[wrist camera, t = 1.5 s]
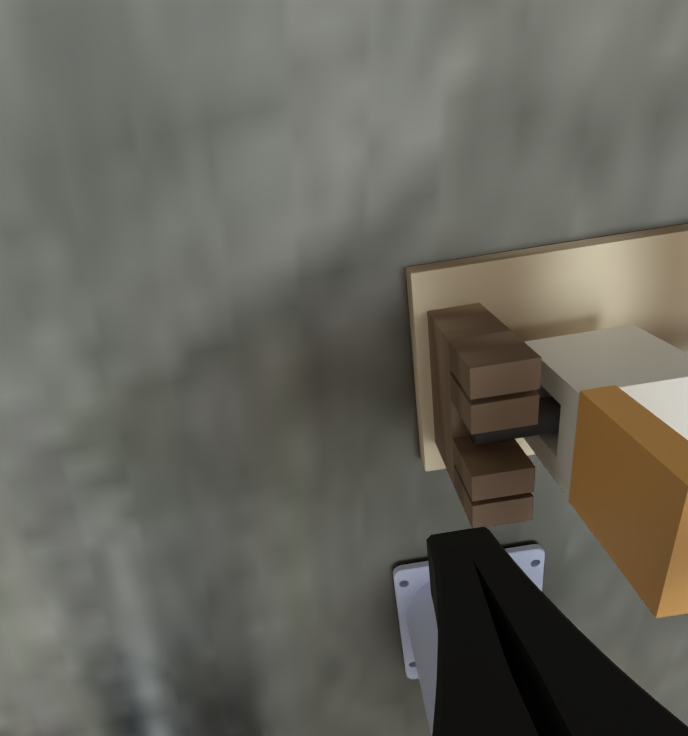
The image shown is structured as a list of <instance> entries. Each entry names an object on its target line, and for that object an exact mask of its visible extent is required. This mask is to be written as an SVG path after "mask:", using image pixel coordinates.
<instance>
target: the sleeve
mask: <svg viewBox="0 0 688 736" xmlns="http://www.w3.org/2000/svg"><path fill="white" fill-rule="evenodd" d="M525 343H526V344H527V345H528V346H529V347H530V348H532V349H533V350H534V351H535V352H536V353H537V354H538V355H540V356H541V357H542V361H541V378H540V389H537V390H535V391H536V392H537V393H538V394H539V398H542V397H549V396H552V397H553V398H554V399H555V400H556V401H557V402H558V403H559V404H560V405H561V411H560V423H559V432H555V433H548V434H542V435H536V436H529V437H523V438H524V439H525V441H526V442H527V443H528V445H529V446H530V447H531V449H532V450H533V451H534V453H535V454H536V455H537V457H538V458H539V459H540V461H541V462H542V463H543V465H544V466H545V467H546V469H547V470H548V471H549V473H550V474H551V475H552V477H553V478H554V479H555V481H556V482H557V483H558V485H559V486H560V487H561V489H562V490H563V491H564V493H565V494H566V495H567V497H568V498H569V502H570V503H571V505H572V506H573V507H574V509H575V510H576V511H577V513H578V514H579V516H580V517H581V518H582V520H583V521H584V522H585V524H586V525H587V526H588V528H589V529H590V530H591V532H592V533H593V534H594V536H595V537H596V538H597V540H598V541H599V542H600V544H601V545H602V546H603V548H604V549H605V550H606V552H607V553H608V554H609V556H610V557H611V558H612V560H613V561H614V563H615V564H616V565H617V567H618V568H619V569H620V571H621V572H622V573H623V575H624V576H625V577H626V579H627V580H628V581H629V583H630V584H631V585H632V587H633V588H634V589H635V591H636V592H637V593H638V595H639V596H640V597H641V599H642V600H643V601H644V603H645V604H646V605H647V607H648V608H649V610H650V611H651V612H652V614H653V615H654V616H655V618H660V617H667V616H673V615H679V614H686V613H688V354H687V353H686V352H684V351H682V350H680V349H678V348H676V347H674V346H672V345H671V344H669V343H667V342H665V341H663V340H661V339H659V338H657V337H656V336H654V335H652V334H650V333H648V332H646V331H644V330H642V329H641V328H639V327H637V326H635V325H627V326H621V327H614V328H608V329H602V330H595V331H589V332H582V333H576V334H570V335H563V336H557V337H550V338H544V339H538V340H531V341H525Z"/></svg>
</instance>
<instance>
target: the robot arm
mask: <svg viewBox="0 0 688 736" xmlns="http://www.w3.org/2000/svg"><path fill="white" fill-rule="evenodd" d="M427 550H428V561H424V562H417V563H411V564H405V565H400V566H397V567H396V568H395V569H394V570H393V580H394V587H395V595H396V603H397V610H398V618H399V626H400V633H401V641H402V649H403V656H404V664H405V671H406V676H407V677H408V678H410V679H419V682H420V687H421V692H422V697H423V701H424V706H425V711H426V716H427V720H428V725H429V730H430V735H431V736H688V726H686V725H685V724H684V723H683V722H682V721H680V720H679V719H678V718H677V717H676V716H674V715H673V714H672V713H671V712H670V711H668V710H667V709H666V708H665V707H663V706H662V705H661V704H660V703H659V702H657V701H656V700H655V699H654V698H653V697H652V696H650V695H649V694H648V693H647V692H646V691H645V690H644V689H642V688H641V687H640V686H639V685H638V684H637V683H635V682H634V681H633V680H632V679H631V678H630V677H629V676H627V675H626V674H625V673H624V672H623V671H622V670H621V669H620V668H619V667H617V666H616V665H615V664H614V663H613V662H612V661H611V660H610V659H609V658H608V657H607V656H606V655H605V654H603V653H602V652H601V651H600V650H599V649H598V648H597V647H596V646H595V645H594V644H593V643H592V642H591V641H590V640H589V639H588V638H587V637H586V636H585V635H584V634H583V633H582V632H581V631H579V630H578V629H577V628H576V627H575V626H574V624H573V623H572V622H571V621H570V620H569V619H568V618H567V617H566V616H565V615H564V614H563V613H562V612H561V611H560V610H559V609H558V608H557V607H556V606H555V605H554V604H553V603H552V602H551V601H550V600H549V599H548V598H547V597H546V595H545V594H544V593H543V592H542V585H543V572H544V559H545V552H544V550H543V549H542V547H541V546H540V545H538V544H531V545H525V546H519V547H512V548H506V549H504V548H503V547H502V546H501V544H500V543H499V542H498V541H497V539H496V538H495V537H494V536H493V534H492V533H491V532H490V530H489V529H487V528H486V527H478V528H472V529H466V530H459V531H453V532H447V533H440V534H434V535H431V536H430V537H429V538H428V539H427ZM404 580H405V581H404Z"/></svg>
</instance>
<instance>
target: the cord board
mask: <svg viewBox="0 0 688 736" xmlns="http://www.w3.org/2000/svg"><path fill="white" fill-rule="evenodd" d="M406 279H407V292H408V304H409V317H410V330H411V342H412V355H413V368H414V380H415V393H416V406H417V418H418V431H419V444H420V456H421V460H422V463H423V466H424V468H425V471H433V470H439V469H445V468H446V469H447V471H448V473H449V475H450V478H451V480H452V482H453V485H454V487H455V489H456V492H457V494H458V496H459V498H460V501H461V503H462V505H463V508H464V510H465V512H466V514H467V517H468V519H469V521H470V524H471V526H472V528H478V527H489V526H496V525H502V524H508V523H515V522H521V521H527V520H532V515H533V498H534V497H533V495H532V494H531V492H534V480H535V466H534V465H533V463H532V462H531V461H530V459H529V458H528V455H534V454H535V453H534V451H533V450H532V449H531V447H530V446H529V445H528V443H527V442H526V441H525V439H524V438H523V437H529V436H536V435H542V434H548V433H555V432H559V423H560V411H561V405H560V404H559V403H558V402H557V401H556V400H555V399H554V398H553V397H552V396H549V397H542V398H539V394H538V393H537V392H536V391H535V390H537V389H540V378H541V361H542V357H541V356H540V355H538V354H537V353H536V352H535V351H534V350H533V349H532V348H530V347H529V346H528V345H527V344H526V343H525V341H531V340H538V339H544V338H550V337H557V336H563V335H570V334H576V333H582V332H589V331H595V330H602V329H608V328H614V327H621V326H627V325H635V326H637V327H639V328H641V329H642V330H644V331H646V332H648V333H650V334H652V335H654V336H656V337H657V338H659V339H661V340H663V341H665V342H667V343H669V344H671V345H672V346H674V347H676V348H678V349H680V350H682V351H684V352H686V353H687V354H688V224H681V225H675V226H669V227H662V228H656V229H649V230H643V231H636V232H630V233H623V234H617V235H611V236H604V237H598V238H591V239H585V240H578V241H572V242H565V243H559V244H553V245H546V246H540V247H533V248H527V249H520V250H514V251H507V252H501V253H495V254H488V255H482V256H475V257H469V258H462V259H456V260H450V261H443V262H437V263H430V264H424V265H417V266H411V267H406Z"/></svg>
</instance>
